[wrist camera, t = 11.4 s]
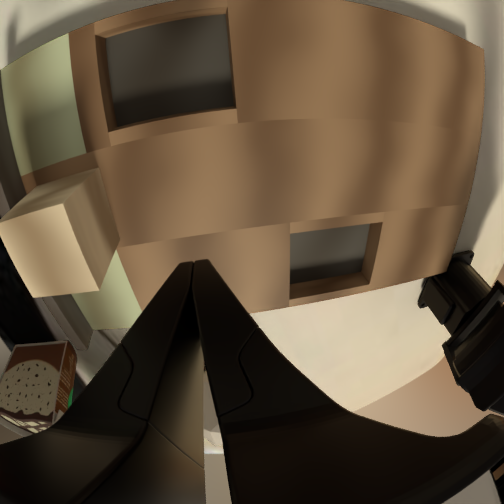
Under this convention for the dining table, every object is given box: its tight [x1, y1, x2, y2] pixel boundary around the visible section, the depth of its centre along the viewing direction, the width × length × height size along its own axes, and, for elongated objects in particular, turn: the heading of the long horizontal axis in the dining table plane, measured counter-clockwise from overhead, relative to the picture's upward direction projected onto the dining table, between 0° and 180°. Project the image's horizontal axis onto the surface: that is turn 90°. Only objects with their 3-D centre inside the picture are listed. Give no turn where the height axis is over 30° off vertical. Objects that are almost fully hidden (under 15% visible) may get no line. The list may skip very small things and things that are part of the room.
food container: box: [0, 340, 77, 437], centre depth 20 cm, size 12×6×10 cm, turn 99°
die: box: [203, 371, 223, 446], centre depth 25 cm, size 8×9×10 cm
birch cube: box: [0, 168, 120, 298], centre depth 12 cm, size 4×4×4 cm
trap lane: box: [0, 0, 485, 350], centre depth 15 cm, size 32×20×4 cm, turn 94°
